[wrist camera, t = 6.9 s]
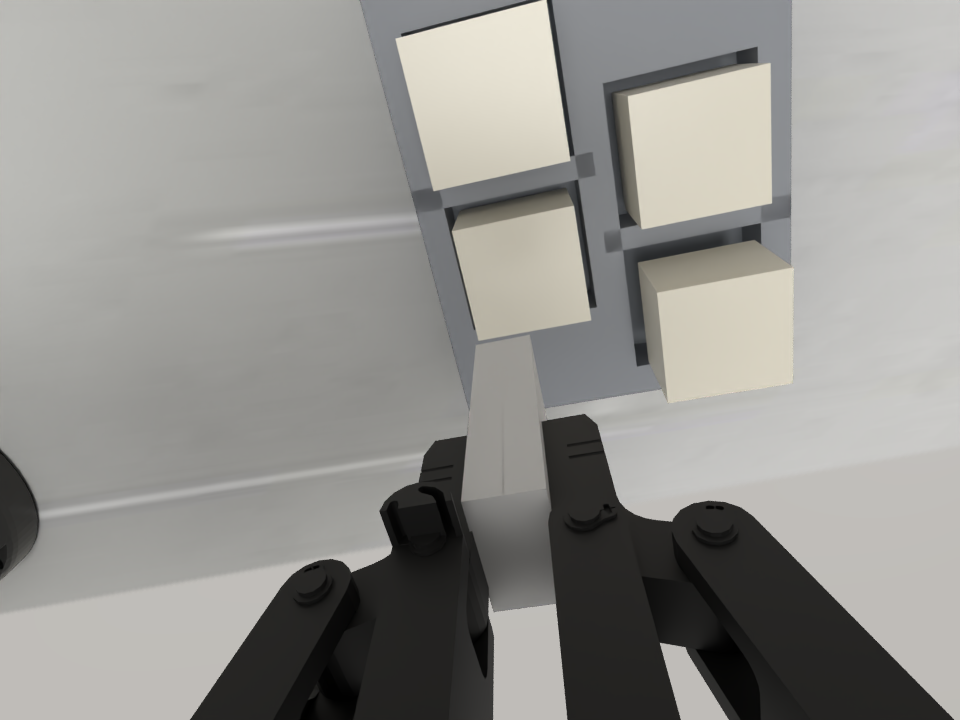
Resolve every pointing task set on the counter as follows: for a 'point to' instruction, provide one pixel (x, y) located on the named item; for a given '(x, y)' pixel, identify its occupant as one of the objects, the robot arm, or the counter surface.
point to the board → (595, 167)
